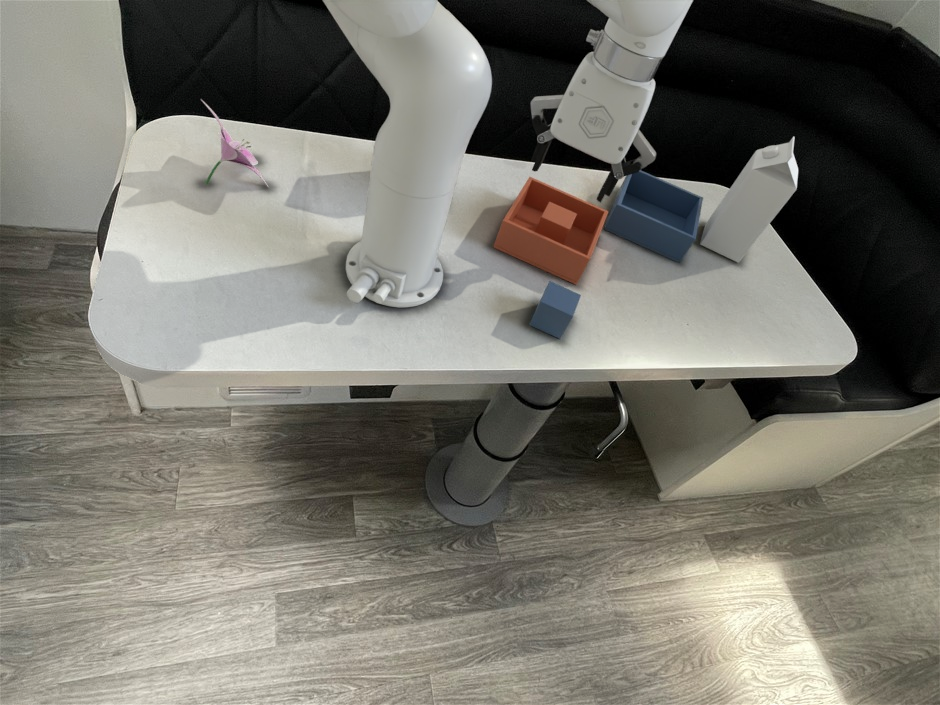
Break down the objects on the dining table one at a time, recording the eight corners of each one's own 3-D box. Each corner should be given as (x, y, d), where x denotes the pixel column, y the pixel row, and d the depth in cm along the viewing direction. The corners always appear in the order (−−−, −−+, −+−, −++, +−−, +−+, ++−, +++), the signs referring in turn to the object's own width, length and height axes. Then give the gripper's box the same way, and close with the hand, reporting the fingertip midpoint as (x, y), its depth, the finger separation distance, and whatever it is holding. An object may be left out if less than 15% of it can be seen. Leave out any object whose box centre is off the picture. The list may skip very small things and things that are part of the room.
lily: (257, 223, 78) (289, 160, 74) (163, 180, 72) (193, 109, 69) (261, 193, 87) (289, 136, 84) (178, 152, 82) (205, 89, 78)
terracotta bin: (576, 285, 84) (590, 259, 81) (493, 247, 85) (502, 220, 81) (595, 236, 93) (608, 211, 89) (519, 202, 94) (529, 176, 90)
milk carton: (742, 242, 103) (816, 146, 89) (738, 264, 98) (815, 166, 84) (704, 224, 103) (772, 126, 89) (698, 245, 99) (768, 145, 85)
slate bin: (679, 262, 94) (695, 239, 90) (603, 229, 95) (616, 204, 91) (688, 220, 103) (703, 197, 99) (618, 190, 104) (631, 166, 100)
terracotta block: (558, 253, 87) (570, 229, 84) (531, 240, 88) (541, 216, 84) (566, 237, 90) (577, 213, 87) (539, 225, 90) (549, 201, 87)
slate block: (560, 339, 77) (573, 316, 73) (528, 325, 77) (540, 301, 73) (568, 318, 80) (581, 294, 76) (538, 304, 80) (549, 280, 76)
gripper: (551, 35, 66) (503, 167, 78) (692, 100, 65) (621, 222, 78) (566, 18, 71) (519, 144, 83) (697, 78, 70) (629, 196, 83)
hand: (568, 182), depth 80 cm, fingers open, 9 cm apart
